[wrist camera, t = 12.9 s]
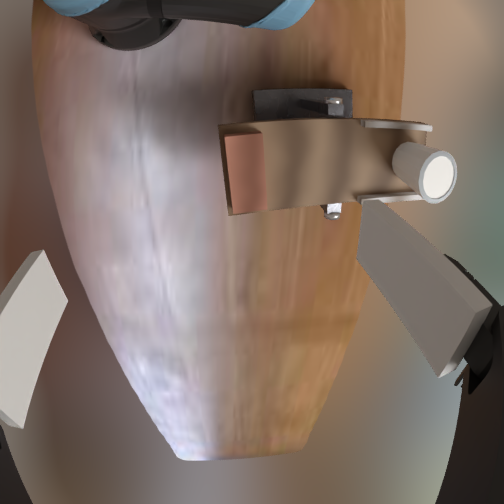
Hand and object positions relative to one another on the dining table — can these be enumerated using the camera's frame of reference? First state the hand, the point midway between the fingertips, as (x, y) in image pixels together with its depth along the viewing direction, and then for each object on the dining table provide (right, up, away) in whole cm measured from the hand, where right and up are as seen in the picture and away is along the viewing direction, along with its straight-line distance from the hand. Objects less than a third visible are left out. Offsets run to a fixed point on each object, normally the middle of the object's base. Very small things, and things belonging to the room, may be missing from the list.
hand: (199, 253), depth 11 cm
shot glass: (+23, +13, +24) cm, 36 cm away
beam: (+12, +12, +25) cm, 31 cm away
